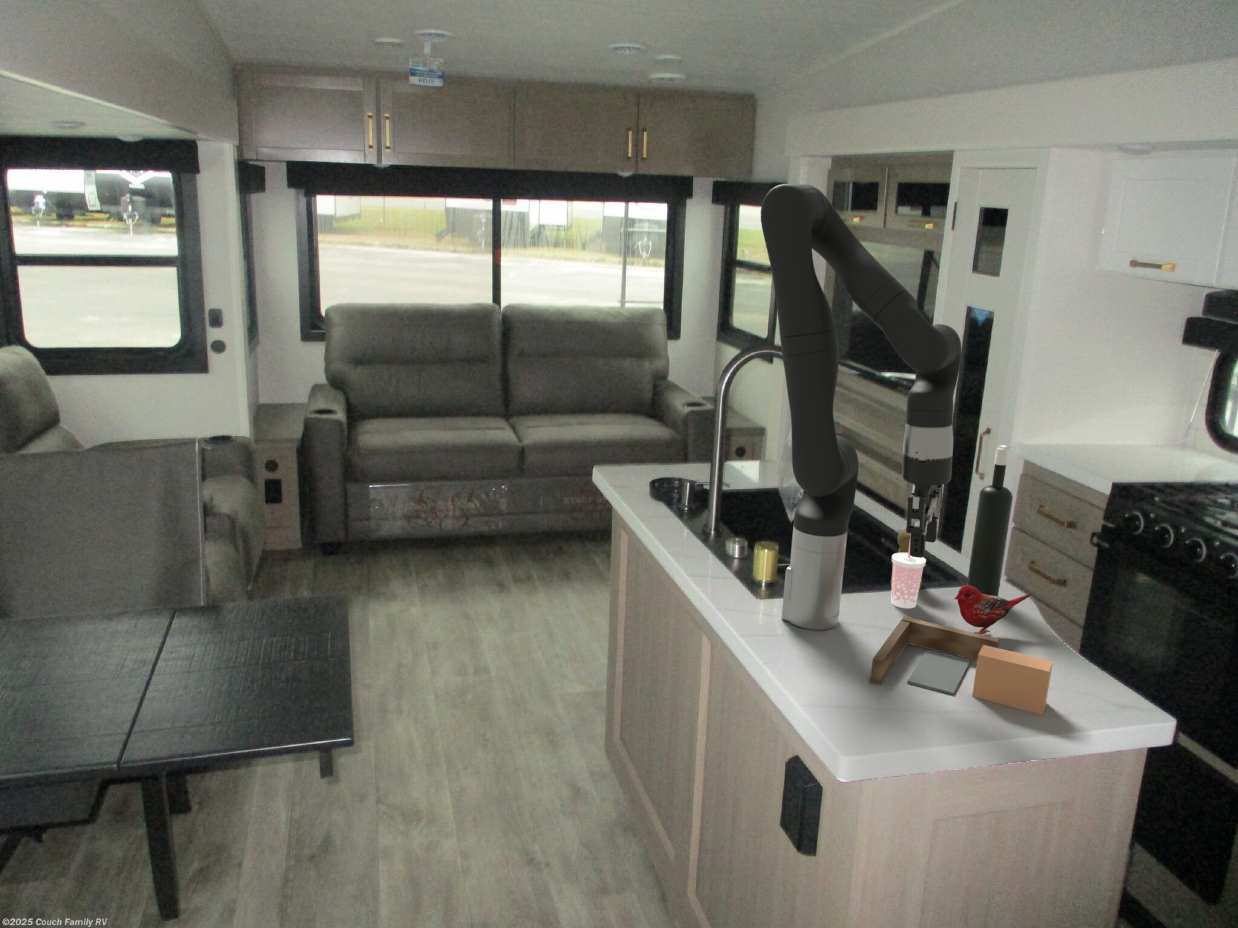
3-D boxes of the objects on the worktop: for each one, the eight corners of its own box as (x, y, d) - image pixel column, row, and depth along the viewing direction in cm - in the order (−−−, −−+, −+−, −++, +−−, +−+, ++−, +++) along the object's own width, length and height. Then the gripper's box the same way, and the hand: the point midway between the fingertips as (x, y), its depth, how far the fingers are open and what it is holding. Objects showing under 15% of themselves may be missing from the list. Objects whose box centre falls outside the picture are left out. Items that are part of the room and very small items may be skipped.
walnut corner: (870, 681, 153) (872, 658, 152) (901, 637, 169) (903, 616, 168) (973, 709, 145) (977, 685, 144) (995, 660, 161) (999, 638, 160)
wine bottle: (966, 602, 185) (987, 448, 177) (964, 590, 190) (985, 440, 182) (998, 606, 183) (1021, 451, 176) (995, 594, 189) (1018, 444, 181)
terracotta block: (972, 696, 150) (978, 654, 148) (977, 685, 153) (983, 644, 151) (1042, 714, 145) (1049, 671, 143) (1045, 703, 148) (1052, 661, 146)
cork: (923, 591, 189) (930, 537, 186) (891, 588, 190) (897, 534, 187) (920, 580, 195) (927, 527, 192) (889, 576, 196) (895, 524, 193)
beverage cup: (926, 608, 181) (936, 537, 177) (896, 611, 180) (905, 538, 176) (909, 595, 187) (918, 526, 183) (880, 597, 185) (888, 527, 182)
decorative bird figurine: (942, 637, 169) (949, 583, 167) (1019, 623, 176) (1027, 571, 174) (954, 644, 167) (962, 590, 164) (1032, 629, 174) (1040, 577, 171)
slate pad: (907, 682, 153) (907, 680, 153) (926, 651, 164) (926, 649, 164) (953, 695, 149) (953, 692, 149) (970, 662, 160) (970, 660, 160)
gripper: (914, 441, 164) (910, 534, 168) (892, 459, 152) (888, 558, 156) (961, 444, 160) (955, 539, 164) (942, 463, 148) (937, 565, 152)
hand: (923, 548), depth 160 cm, fingers open, 8 cm apart
